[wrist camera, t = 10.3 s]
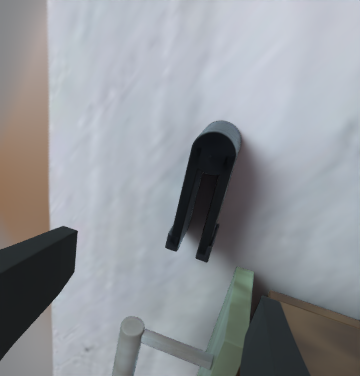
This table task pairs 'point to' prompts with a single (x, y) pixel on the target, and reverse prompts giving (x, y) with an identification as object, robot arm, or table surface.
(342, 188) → the table surface
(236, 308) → the drawer
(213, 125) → the tongs
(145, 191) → the table surface
